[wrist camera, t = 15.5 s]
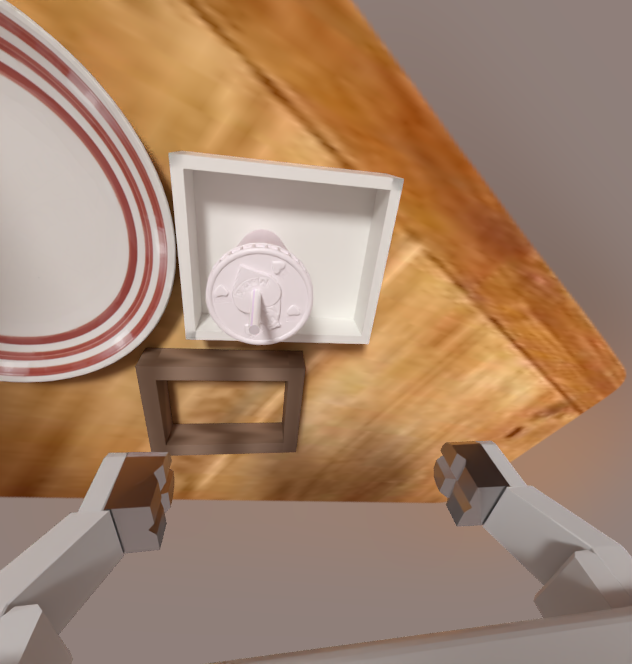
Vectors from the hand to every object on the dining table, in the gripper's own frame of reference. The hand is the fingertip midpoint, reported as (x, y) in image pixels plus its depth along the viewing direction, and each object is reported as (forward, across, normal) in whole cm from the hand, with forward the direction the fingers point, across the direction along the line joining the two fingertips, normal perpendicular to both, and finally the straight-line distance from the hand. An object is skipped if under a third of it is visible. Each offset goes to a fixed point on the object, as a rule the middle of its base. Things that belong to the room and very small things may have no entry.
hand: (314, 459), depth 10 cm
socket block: (+22, +5, +16) cm, 28 cm away
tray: (+22, 0, 0) cm, 22 cm away
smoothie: (+21, +2, 0) cm, 21 cm away
